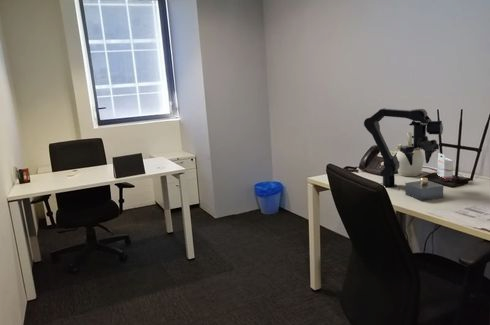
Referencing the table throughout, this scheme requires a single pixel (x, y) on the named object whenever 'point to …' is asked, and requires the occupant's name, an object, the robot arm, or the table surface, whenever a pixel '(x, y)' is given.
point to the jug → (404, 164)
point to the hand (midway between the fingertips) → (419, 164)
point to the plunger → (423, 181)
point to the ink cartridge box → (444, 167)
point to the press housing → (424, 190)
